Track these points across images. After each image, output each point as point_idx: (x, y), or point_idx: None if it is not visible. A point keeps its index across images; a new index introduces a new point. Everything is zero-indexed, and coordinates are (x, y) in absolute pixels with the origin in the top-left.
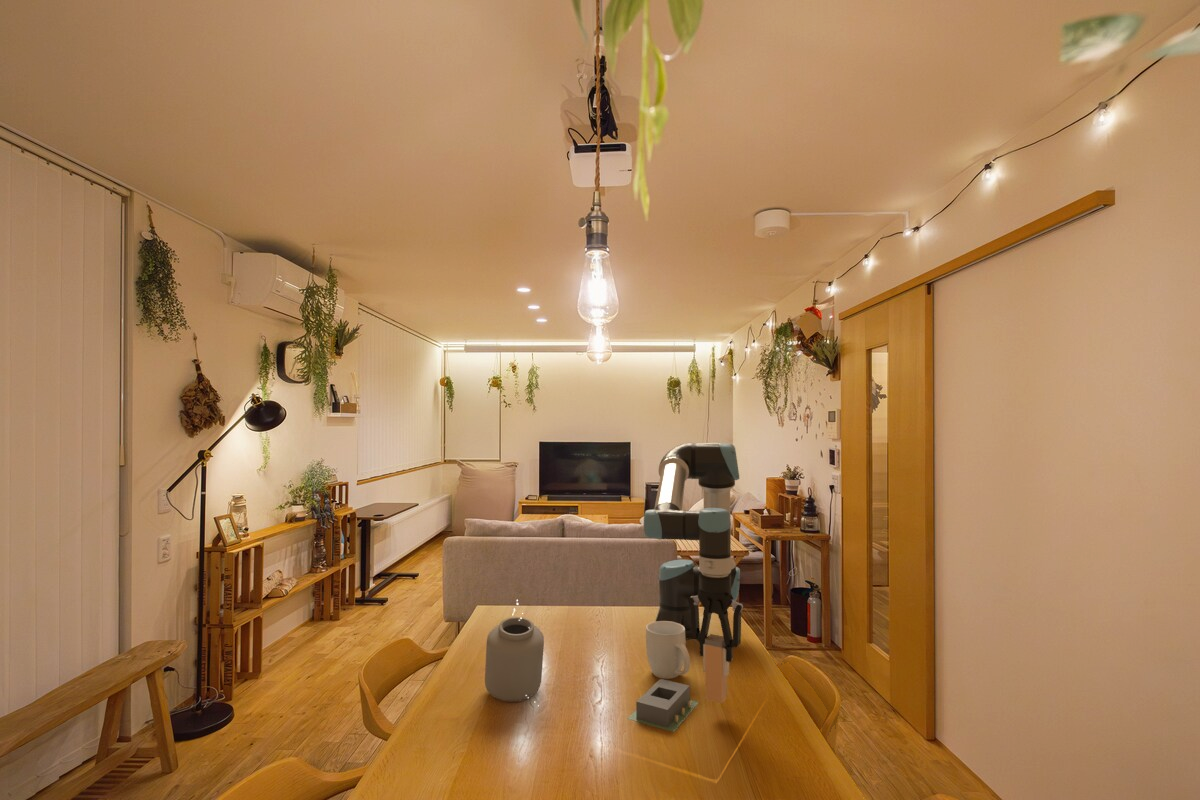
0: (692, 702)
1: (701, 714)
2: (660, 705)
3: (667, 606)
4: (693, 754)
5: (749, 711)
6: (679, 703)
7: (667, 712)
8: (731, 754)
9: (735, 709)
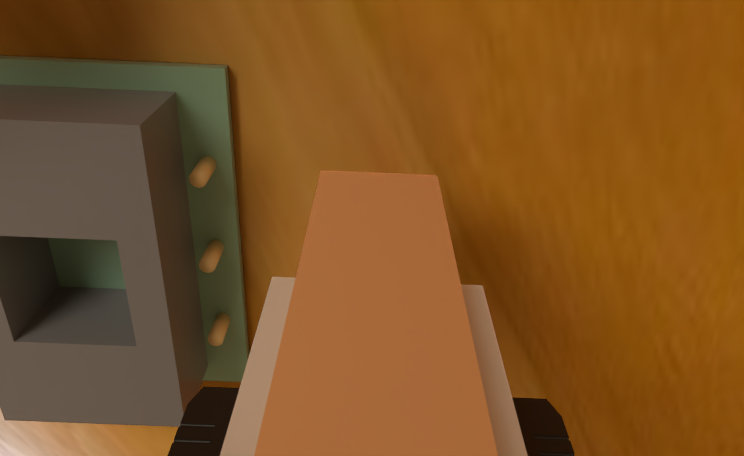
0: (192, 90)
1: (289, 172)
2: (131, 406)
3: None
4: None
5: (544, 6)
6: (177, 271)
7: None
8: None
9: (455, 22)
